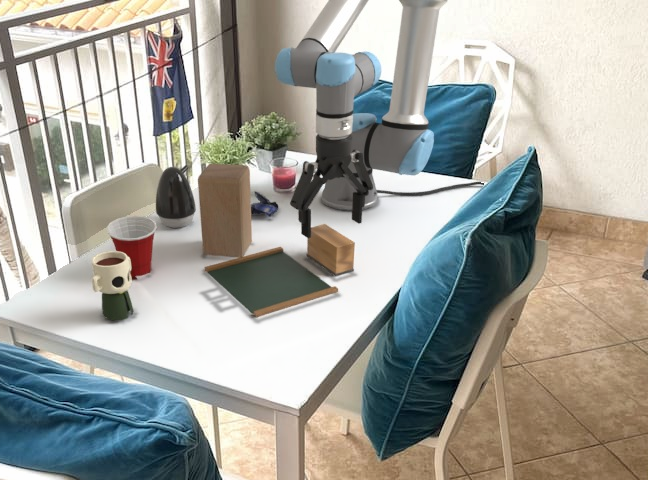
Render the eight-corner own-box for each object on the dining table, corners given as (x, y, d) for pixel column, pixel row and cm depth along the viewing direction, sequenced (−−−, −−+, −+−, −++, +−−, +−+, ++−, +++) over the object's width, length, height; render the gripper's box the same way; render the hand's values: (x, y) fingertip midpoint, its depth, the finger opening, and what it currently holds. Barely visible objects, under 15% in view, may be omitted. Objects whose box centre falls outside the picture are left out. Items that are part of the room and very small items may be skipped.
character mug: (114, 332, 138) (104, 274, 131) (87, 323, 141) (76, 265, 134) (148, 307, 146) (141, 251, 139) (122, 299, 149) (114, 244, 142)
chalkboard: (280, 253, 167) (280, 246, 166) (338, 295, 149) (338, 288, 148) (204, 273, 158) (204, 266, 157) (256, 321, 141) (256, 313, 140)
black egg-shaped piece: (205, 222, 182) (201, 165, 174) (176, 235, 176) (170, 177, 168) (178, 212, 188) (173, 157, 180) (149, 225, 181) (142, 168, 173)
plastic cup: (119, 289, 153) (112, 239, 146) (109, 268, 161) (101, 220, 155) (167, 279, 156) (162, 230, 150) (154, 259, 165) (149, 212, 158)
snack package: (254, 201, 194) (224, 213, 187) (256, 180, 190) (227, 191, 183) (286, 219, 189) (257, 232, 181) (290, 197, 185) (260, 210, 177)
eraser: (324, 254, 166) (325, 223, 162) (353, 274, 157) (355, 242, 153) (306, 259, 164) (306, 228, 159) (335, 280, 155) (336, 247, 151)
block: (243, 261, 163) (239, 179, 153) (202, 257, 165) (196, 176, 154) (252, 243, 172) (250, 164, 161) (213, 240, 173) (208, 161, 162)
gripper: (292, 150, 136) (293, 248, 148) (393, 128, 146) (386, 221, 158) (272, 140, 141) (275, 235, 153) (371, 119, 152) (366, 209, 164)
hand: (331, 228), depth 156 cm, fingers open, 13 cm apart
